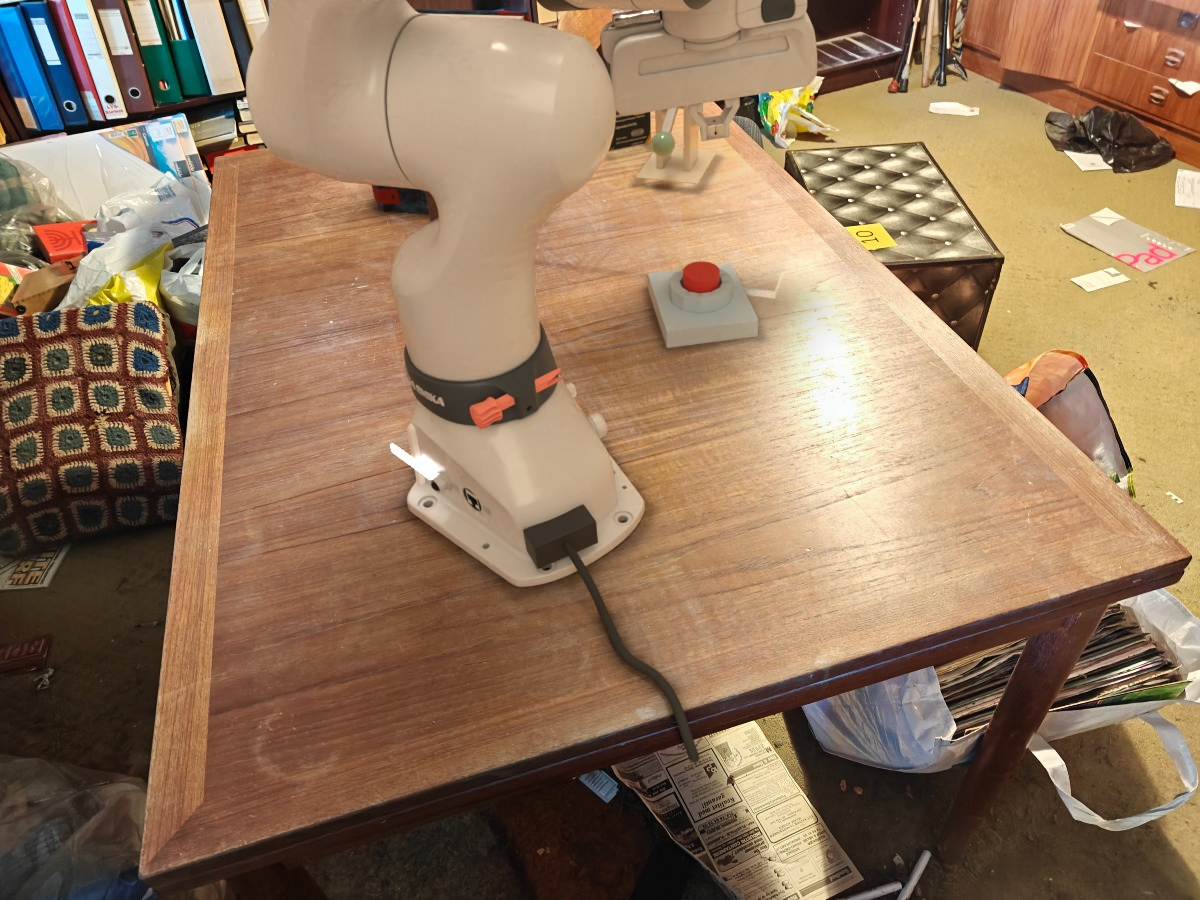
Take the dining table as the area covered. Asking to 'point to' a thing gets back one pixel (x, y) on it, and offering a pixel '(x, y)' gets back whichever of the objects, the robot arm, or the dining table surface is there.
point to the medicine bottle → (630, 128)
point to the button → (701, 277)
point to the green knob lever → (665, 135)
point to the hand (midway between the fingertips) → (714, 136)
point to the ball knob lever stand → (679, 155)
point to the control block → (701, 309)
